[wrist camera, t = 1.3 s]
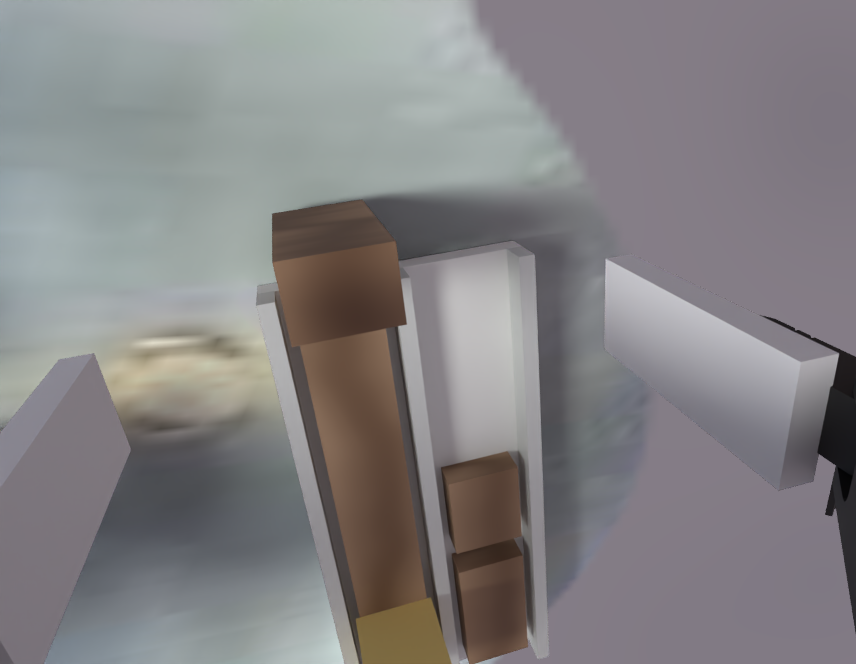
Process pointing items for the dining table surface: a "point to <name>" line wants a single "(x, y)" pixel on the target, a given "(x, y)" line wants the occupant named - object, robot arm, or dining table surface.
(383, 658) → the cube
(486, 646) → the broken strip
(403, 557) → the strip
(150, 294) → the dining table surface
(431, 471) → the lane board
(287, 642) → the dining table surface
